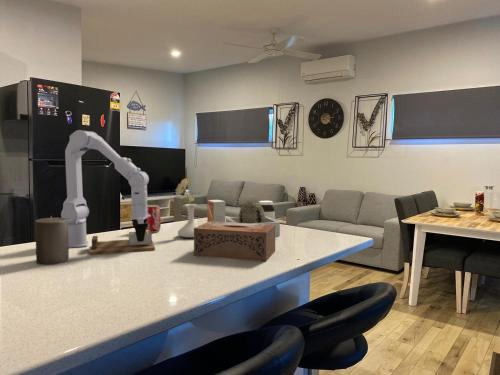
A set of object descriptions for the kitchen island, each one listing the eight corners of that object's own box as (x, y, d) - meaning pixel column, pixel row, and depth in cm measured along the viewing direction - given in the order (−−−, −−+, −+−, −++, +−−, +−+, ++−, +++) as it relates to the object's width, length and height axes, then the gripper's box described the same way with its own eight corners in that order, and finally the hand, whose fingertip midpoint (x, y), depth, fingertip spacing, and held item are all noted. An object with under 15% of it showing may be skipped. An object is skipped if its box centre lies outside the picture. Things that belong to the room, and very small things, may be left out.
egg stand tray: (237, 238, 162) (237, 224, 162) (225, 230, 180) (225, 217, 179) (279, 236, 168) (279, 222, 168) (264, 228, 186) (264, 215, 185)
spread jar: (276, 225, 193) (277, 202, 192) (255, 226, 189) (255, 203, 188) (266, 221, 204) (267, 199, 203) (246, 222, 200) (247, 200, 199)
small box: (207, 226, 189) (206, 200, 188) (219, 225, 192) (219, 199, 191) (213, 229, 182) (213, 201, 181) (225, 228, 185) (225, 201, 184)
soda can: (162, 230, 179) (162, 204, 178) (157, 233, 172) (157, 206, 171) (148, 230, 180) (147, 204, 179) (142, 233, 173) (141, 206, 172)
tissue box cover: (275, 251, 142) (275, 224, 141) (266, 262, 128) (266, 232, 127) (209, 247, 149) (209, 221, 148) (194, 256, 135) (193, 228, 134)
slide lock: (129, 245, 143) (129, 232, 143) (128, 242, 149) (128, 230, 148) (151, 244, 146) (151, 231, 145) (150, 241, 151) (150, 228, 151)
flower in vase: (192, 232, 174) (191, 177, 172) (210, 236, 167) (209, 178, 164) (168, 237, 164) (168, 178, 162) (186, 241, 157) (186, 179, 154)
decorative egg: (248, 237, 166) (249, 202, 165) (233, 232, 175) (233, 199, 174) (270, 233, 173) (270, 200, 171) (254, 229, 182) (254, 197, 181)
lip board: (90, 255, 135) (89, 242, 135) (92, 245, 148) (92, 234, 148) (154, 250, 142) (154, 238, 142) (151, 242, 155) (151, 231, 155)
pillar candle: (32, 265, 122) (31, 218, 121) (40, 257, 131) (39, 213, 130) (66, 264, 125) (65, 217, 123) (71, 256, 134) (70, 213, 133)
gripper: (151, 205, 140) (152, 242, 141) (149, 201, 154) (149, 235, 155) (131, 206, 138) (132, 244, 139) (130, 201, 152) (131, 236, 153)
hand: (140, 239), depth 147 cm, fingers closed on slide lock, 6 cm apart
